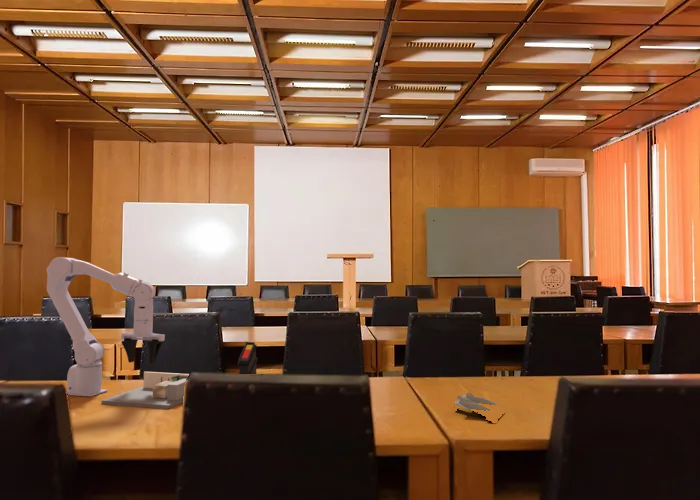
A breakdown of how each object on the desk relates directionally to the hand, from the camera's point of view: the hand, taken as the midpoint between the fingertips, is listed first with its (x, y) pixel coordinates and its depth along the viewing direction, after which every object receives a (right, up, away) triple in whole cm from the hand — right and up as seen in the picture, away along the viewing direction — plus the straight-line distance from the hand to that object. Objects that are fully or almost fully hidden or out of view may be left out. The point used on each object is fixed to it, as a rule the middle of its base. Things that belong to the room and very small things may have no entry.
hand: (141, 362), depth 164 cm
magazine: (+33, -10, +7) cm, 35 cm away
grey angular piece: (+104, -11, -21) cm, 106 cm away
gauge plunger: (+11, -8, -7) cm, 15 cm away
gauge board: (+7, -9, -8) cm, 14 cm away
